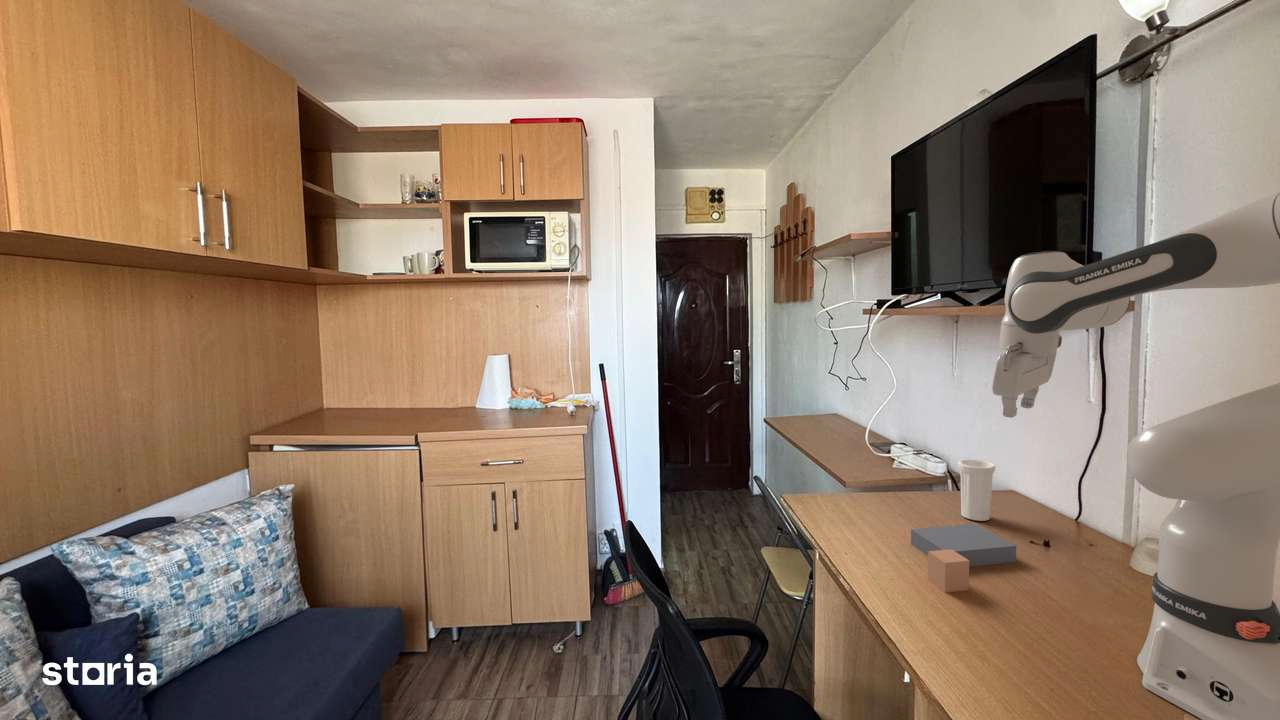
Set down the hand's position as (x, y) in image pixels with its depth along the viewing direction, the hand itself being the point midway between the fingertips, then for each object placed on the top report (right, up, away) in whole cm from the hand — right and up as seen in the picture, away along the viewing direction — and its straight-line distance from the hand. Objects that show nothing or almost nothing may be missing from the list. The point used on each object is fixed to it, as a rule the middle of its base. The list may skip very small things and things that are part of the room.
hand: (1018, 411), depth 102 cm
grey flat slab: (-1, -33, +17) cm, 38 cm away
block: (-11, -35, +4) cm, 37 cm away
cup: (+14, -31, +36) cm, 49 cm away
